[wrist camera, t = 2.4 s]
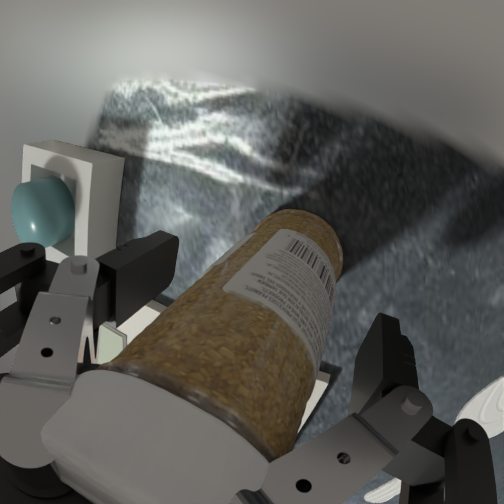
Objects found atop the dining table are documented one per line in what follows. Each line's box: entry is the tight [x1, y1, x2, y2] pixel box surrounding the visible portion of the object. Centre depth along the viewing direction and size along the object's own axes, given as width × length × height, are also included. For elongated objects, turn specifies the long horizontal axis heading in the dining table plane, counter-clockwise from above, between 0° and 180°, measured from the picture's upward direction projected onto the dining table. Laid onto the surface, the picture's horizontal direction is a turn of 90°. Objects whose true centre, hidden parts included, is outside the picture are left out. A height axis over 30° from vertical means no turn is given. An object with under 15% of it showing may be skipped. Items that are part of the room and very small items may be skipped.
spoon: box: [364, 375, 504, 503], centre depth 16 cm, size 5×18×1 cm, turn 156°
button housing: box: [22, 140, 125, 263], centre depth 18 cm, size 7×7×3 cm
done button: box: [11, 176, 75, 248], centre depth 16 cm, size 4×4×2 cm
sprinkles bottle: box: [41, 209, 343, 504], centre depth 9 cm, size 5×5×13 cm
